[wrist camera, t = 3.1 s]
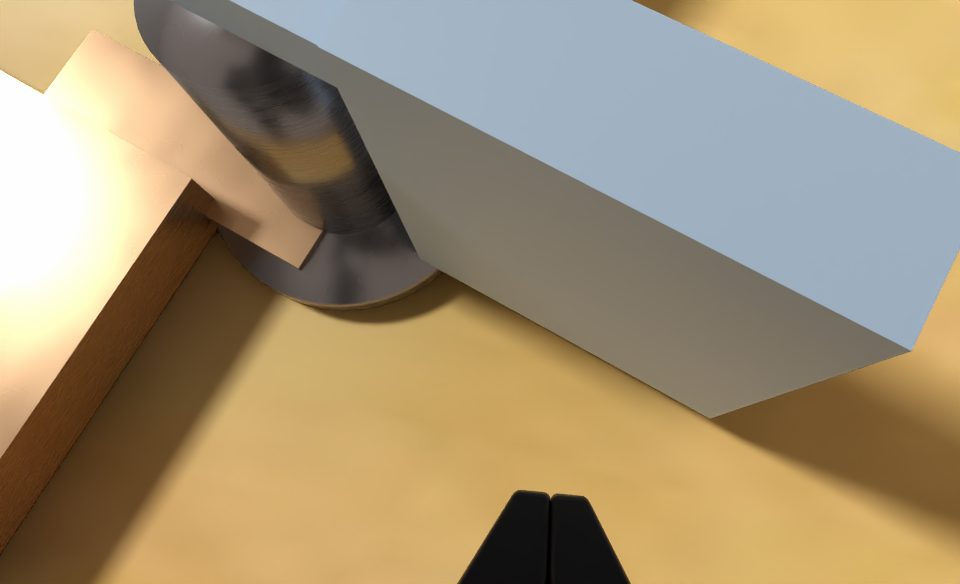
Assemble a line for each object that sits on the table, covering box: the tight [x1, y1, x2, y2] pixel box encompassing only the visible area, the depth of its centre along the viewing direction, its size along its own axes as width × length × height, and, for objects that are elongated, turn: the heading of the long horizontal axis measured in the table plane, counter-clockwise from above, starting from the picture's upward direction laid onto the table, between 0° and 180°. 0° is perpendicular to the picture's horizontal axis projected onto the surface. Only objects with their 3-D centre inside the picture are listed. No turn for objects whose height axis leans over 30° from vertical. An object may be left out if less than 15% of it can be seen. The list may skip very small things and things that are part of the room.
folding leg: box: [169, 0, 960, 419], centre depth 12 cm, size 9×2×8 cm, turn 60°
